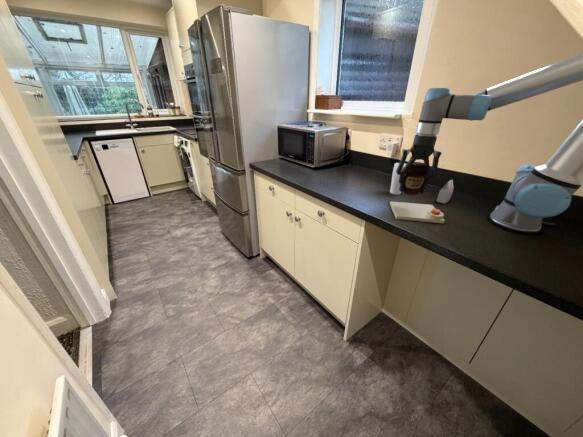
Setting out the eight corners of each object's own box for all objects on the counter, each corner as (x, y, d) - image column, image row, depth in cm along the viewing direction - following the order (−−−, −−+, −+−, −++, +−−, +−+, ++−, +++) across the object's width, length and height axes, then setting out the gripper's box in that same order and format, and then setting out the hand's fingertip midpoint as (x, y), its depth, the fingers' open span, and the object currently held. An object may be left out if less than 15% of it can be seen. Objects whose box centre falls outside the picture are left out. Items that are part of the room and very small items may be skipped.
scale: (431, 207, 105) (433, 201, 104) (443, 223, 92) (446, 216, 91) (389, 204, 108) (391, 198, 107) (396, 219, 95) (397, 212, 94)
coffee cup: (423, 198, 95) (433, 167, 88) (402, 196, 96) (410, 165, 90) (417, 190, 102) (426, 161, 96) (397, 189, 103) (405, 160, 97)
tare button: (437, 212, 95) (439, 208, 94) (440, 215, 92) (441, 212, 92) (429, 211, 95) (431, 208, 95) (432, 214, 93) (433, 211, 92)
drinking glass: (402, 196, 116) (410, 167, 109) (388, 194, 118) (394, 165, 111) (401, 191, 122) (408, 163, 114) (387, 190, 123) (394, 162, 116)
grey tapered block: (436, 201, 111) (442, 181, 106) (441, 197, 115) (448, 178, 110) (444, 203, 109) (451, 183, 104) (449, 200, 113) (456, 180, 108)
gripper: (451, 134, 89) (433, 190, 100) (396, 132, 92) (384, 186, 103) (460, 137, 83) (439, 196, 94) (400, 135, 86) (387, 192, 97)
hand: (410, 191), depth 98 cm, fingers closed on coffee cup, 7 cm apart
